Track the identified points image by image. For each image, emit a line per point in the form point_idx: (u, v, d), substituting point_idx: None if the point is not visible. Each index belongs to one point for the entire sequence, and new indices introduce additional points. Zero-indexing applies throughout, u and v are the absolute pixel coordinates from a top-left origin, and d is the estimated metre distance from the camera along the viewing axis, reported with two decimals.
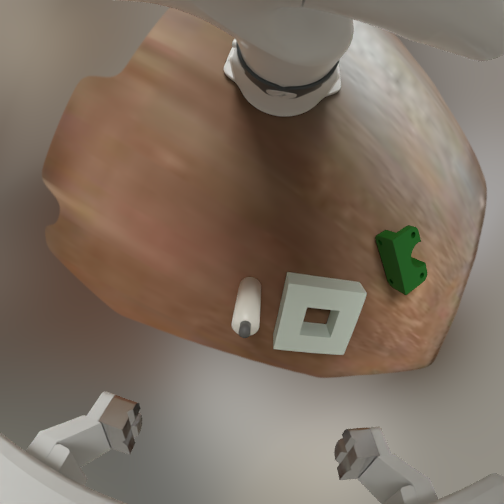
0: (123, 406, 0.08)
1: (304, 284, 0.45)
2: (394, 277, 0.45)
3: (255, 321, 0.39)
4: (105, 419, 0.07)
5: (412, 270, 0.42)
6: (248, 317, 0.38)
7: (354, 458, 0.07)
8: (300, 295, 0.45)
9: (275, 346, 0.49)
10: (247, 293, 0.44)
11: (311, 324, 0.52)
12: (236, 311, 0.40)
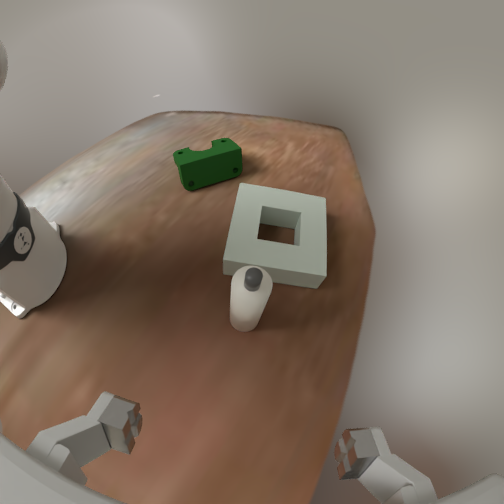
0: (123, 406, 0.08)
1: (226, 243, 0.38)
2: (227, 165, 0.47)
3: (244, 270, 0.27)
4: (105, 419, 0.07)
5: (215, 147, 0.46)
6: (237, 279, 0.27)
7: (354, 458, 0.07)
8: (239, 246, 0.37)
9: (322, 273, 0.36)
10: (230, 303, 0.32)
11: (294, 244, 0.43)
12: (236, 301, 0.27)
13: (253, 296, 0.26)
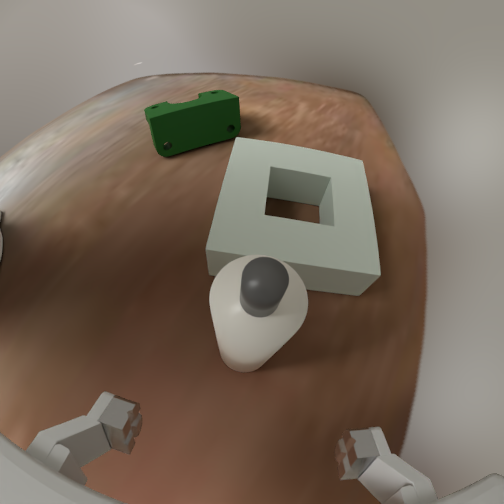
0: (123, 406, 0.08)
1: (212, 223, 0.22)
2: (219, 120, 0.31)
3: (241, 266, 0.12)
4: (105, 419, 0.07)
5: (203, 98, 0.31)
6: (224, 287, 0.11)
7: (354, 458, 0.07)
8: (234, 227, 0.22)
9: (373, 271, 0.21)
10: None
11: None
12: (223, 338, 0.11)
13: (263, 329, 0.10)
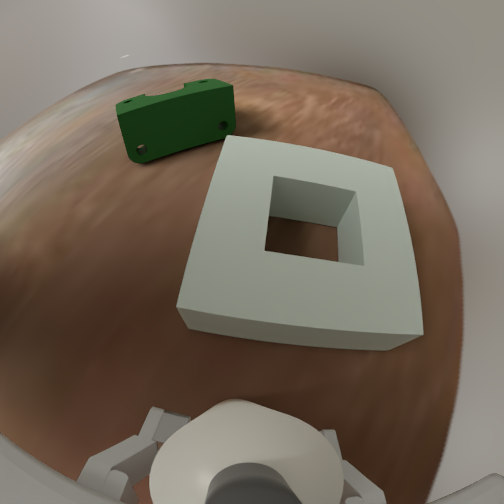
0: (176, 421, 0.08)
1: (187, 264, 0.15)
2: (207, 115, 0.24)
3: (210, 435, 0.04)
4: (159, 437, 0.07)
5: (188, 88, 0.23)
6: (177, 474, 0.04)
7: None
8: (220, 271, 0.14)
9: (415, 330, 0.13)
10: None
11: (340, 258, 0.20)
12: None
13: None
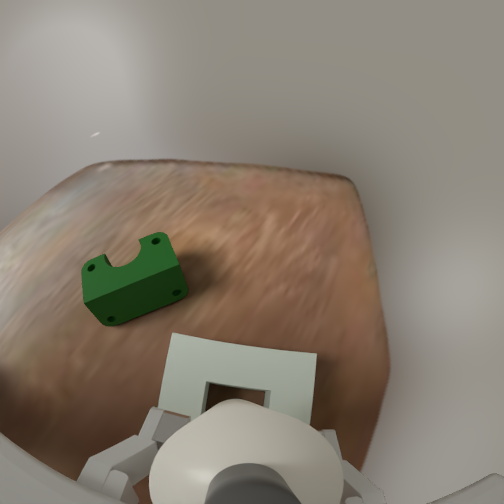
0: (176, 421, 0.08)
1: None
2: (160, 289, 0.28)
3: (210, 436, 0.04)
4: (159, 437, 0.07)
5: (140, 259, 0.28)
6: (177, 475, 0.04)
7: None
8: None
9: None
10: None
11: None
12: None
13: None
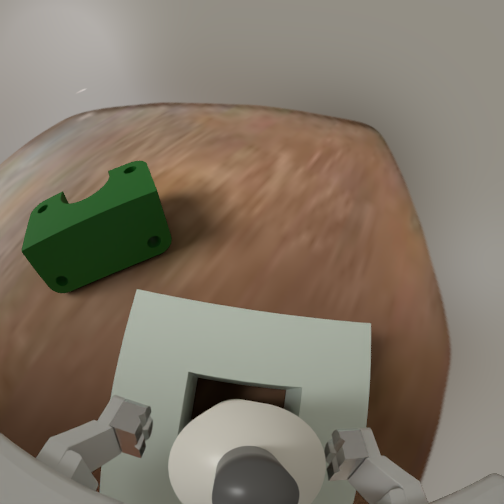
0: (134, 410, 0.08)
1: (102, 470, 0.10)
2: (129, 234, 0.18)
3: (218, 424, 0.06)
4: (117, 423, 0.07)
5: (105, 191, 0.18)
6: (191, 457, 0.05)
7: (342, 459, 0.07)
8: (130, 486, 0.09)
9: None
10: None
11: None
12: None
13: None
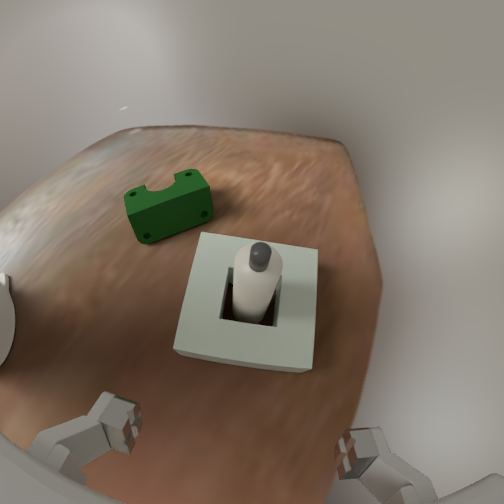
0: (123, 406, 0.08)
1: (178, 325, 0.27)
2: (192, 209, 0.36)
3: (249, 248, 0.23)
4: (105, 419, 0.07)
5: (177, 185, 0.35)
6: (241, 258, 0.23)
7: (354, 458, 0.07)
8: (195, 330, 0.27)
9: (305, 365, 0.26)
10: None
11: (274, 313, 0.32)
12: (240, 285, 0.23)
13: (260, 277, 0.22)
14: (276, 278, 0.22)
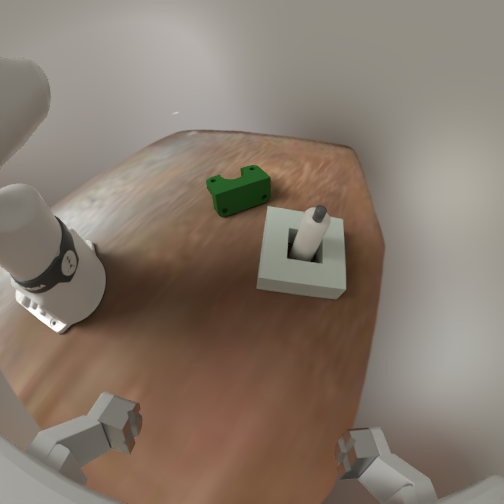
0: (123, 406, 0.08)
1: (260, 263, 0.43)
2: (257, 192, 0.52)
3: (311, 210, 0.39)
4: (105, 419, 0.07)
5: (246, 176, 0.51)
6: (307, 215, 0.39)
7: (354, 458, 0.07)
8: (272, 265, 0.43)
9: (342, 287, 0.42)
10: (295, 240, 0.44)
11: (316, 260, 0.49)
12: (307, 231, 0.39)
13: (319, 225, 0.38)
14: (328, 226, 0.38)
